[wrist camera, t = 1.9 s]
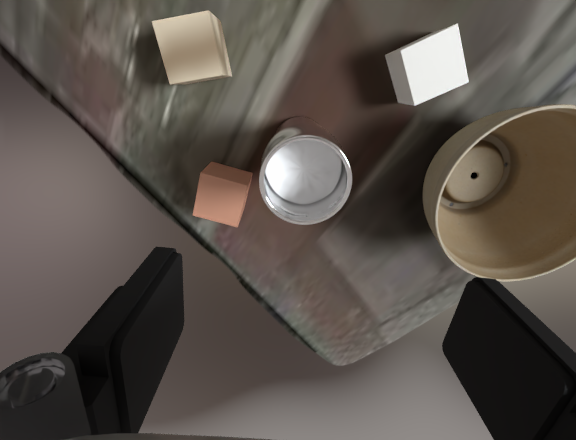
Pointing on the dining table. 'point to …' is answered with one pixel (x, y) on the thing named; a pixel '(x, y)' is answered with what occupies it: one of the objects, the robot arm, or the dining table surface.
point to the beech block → (192, 48)
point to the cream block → (428, 66)
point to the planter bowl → (507, 193)
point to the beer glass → (304, 173)
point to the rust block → (222, 193)
